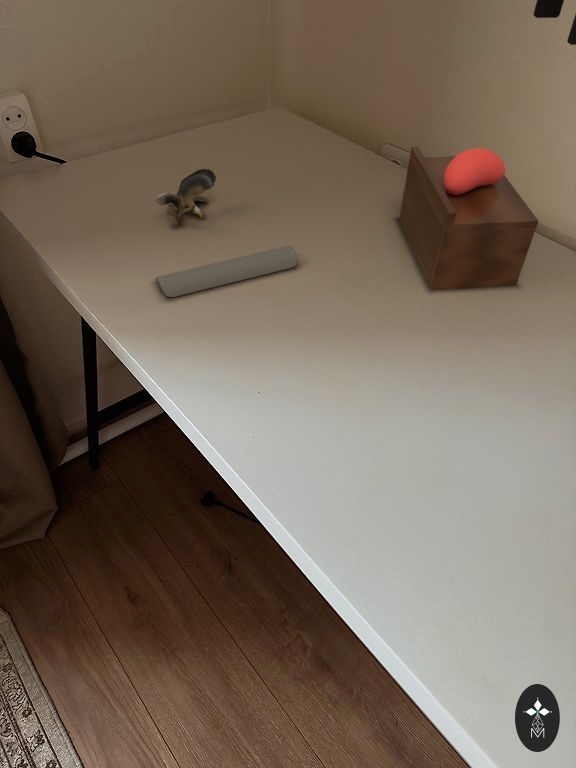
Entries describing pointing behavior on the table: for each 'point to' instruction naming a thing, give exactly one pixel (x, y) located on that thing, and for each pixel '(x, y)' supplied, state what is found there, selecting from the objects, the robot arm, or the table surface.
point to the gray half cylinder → (227, 271)
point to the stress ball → (473, 171)
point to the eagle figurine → (188, 194)
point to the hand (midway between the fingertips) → (562, 29)
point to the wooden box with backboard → (464, 228)
